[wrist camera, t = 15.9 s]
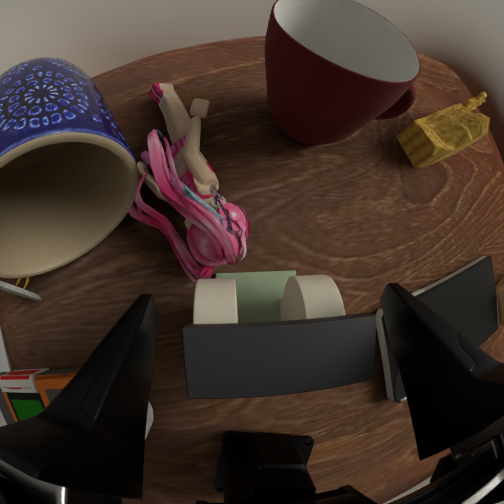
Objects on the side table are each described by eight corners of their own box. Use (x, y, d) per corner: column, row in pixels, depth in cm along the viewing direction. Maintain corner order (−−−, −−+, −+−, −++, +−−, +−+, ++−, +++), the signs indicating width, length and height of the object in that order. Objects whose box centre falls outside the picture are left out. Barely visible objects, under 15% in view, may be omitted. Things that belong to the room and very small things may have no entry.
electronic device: (162, 456, 13) (14, 447, 10) (168, 436, 16) (29, 435, 13) (124, 365, 14) (-17, 376, 11) (137, 354, 16) (2, 369, 14)
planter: (105, 117, 19) (155, 211, 17) (8, 182, 16) (33, 293, 14) (77, 14, 9) (116, 82, 7) (-55, 107, 5) (-80, 245, 4)
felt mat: (296, 346, 17) (298, 347, 17) (219, 351, 16) (219, 352, 16) (294, 270, 17) (295, 270, 17) (215, 273, 17) (215, 273, 17)
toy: (155, 121, 21) (232, 276, 19) (93, 125, 17) (161, 308, 15) (192, 53, 15) (307, 225, 14) (119, 45, 11) (219, 259, 10)
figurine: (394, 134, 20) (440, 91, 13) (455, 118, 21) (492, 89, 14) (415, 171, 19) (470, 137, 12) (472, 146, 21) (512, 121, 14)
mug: (359, 89, 20) (410, 16, 10) (389, 167, 19) (470, 105, 9) (244, 87, 19) (257, -14, 9) (262, 174, 18) (295, 74, 8)
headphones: (308, 361, 16) (370, 417, 8) (208, 367, 16) (192, 438, 7) (306, 276, 17) (375, 268, 9) (204, 279, 17) (179, 275, 8)
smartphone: (499, 328, 18) (394, 407, 16) (491, 328, 19) (386, 402, 17) (490, 252, 18) (380, 310, 16) (482, 254, 19) (371, 309, 18)
